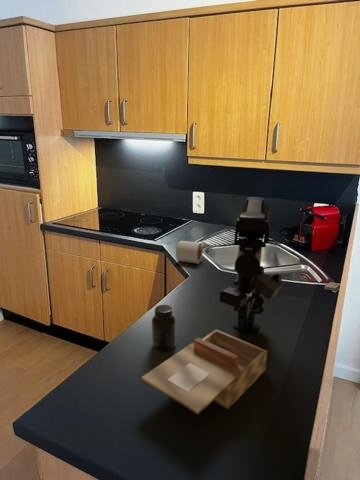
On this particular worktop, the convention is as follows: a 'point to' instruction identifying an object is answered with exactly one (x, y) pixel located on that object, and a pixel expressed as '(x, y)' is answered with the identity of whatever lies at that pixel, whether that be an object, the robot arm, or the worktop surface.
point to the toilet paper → (189, 252)
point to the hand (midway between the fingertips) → (245, 316)
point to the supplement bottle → (163, 328)
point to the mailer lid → (196, 374)
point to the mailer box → (247, 358)
